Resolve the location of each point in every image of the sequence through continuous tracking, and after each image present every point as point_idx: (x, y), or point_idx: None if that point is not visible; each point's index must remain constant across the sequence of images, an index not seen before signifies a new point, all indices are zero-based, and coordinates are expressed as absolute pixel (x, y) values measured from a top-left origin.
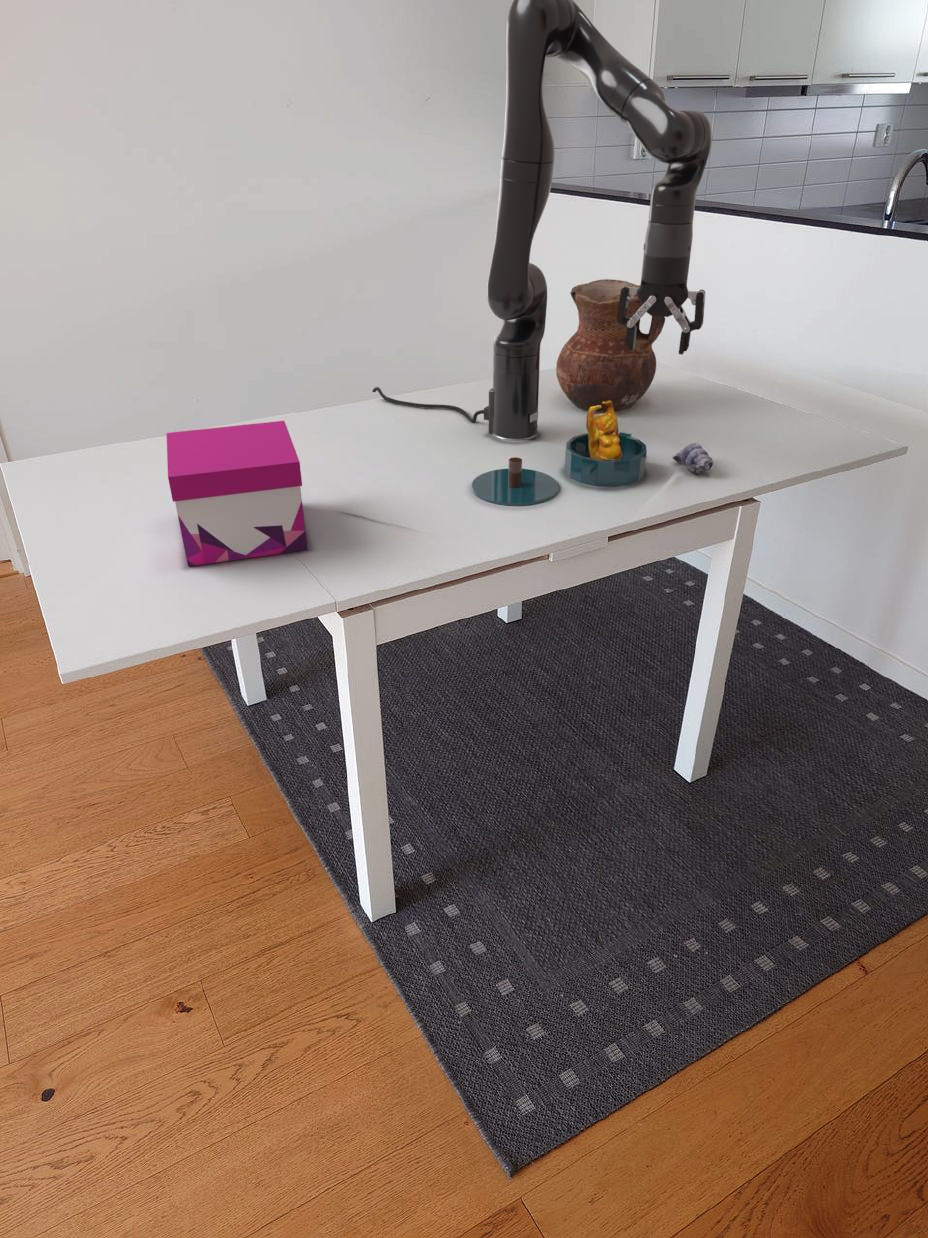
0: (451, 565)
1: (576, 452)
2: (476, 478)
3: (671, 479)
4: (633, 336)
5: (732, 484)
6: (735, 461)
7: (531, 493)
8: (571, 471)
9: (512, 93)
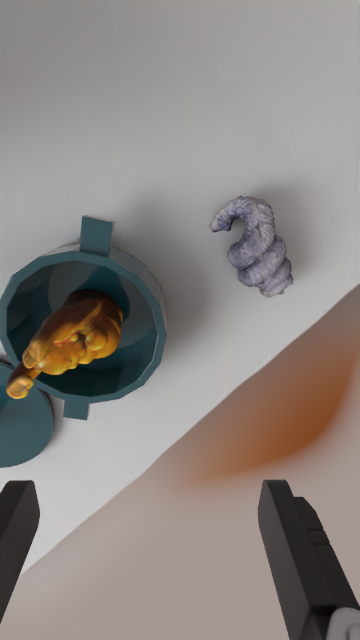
0: None
1: (23, 295)
2: None
3: (214, 303)
4: (5, 599)
5: (317, 294)
6: (337, 173)
7: (21, 435)
8: None
9: None
